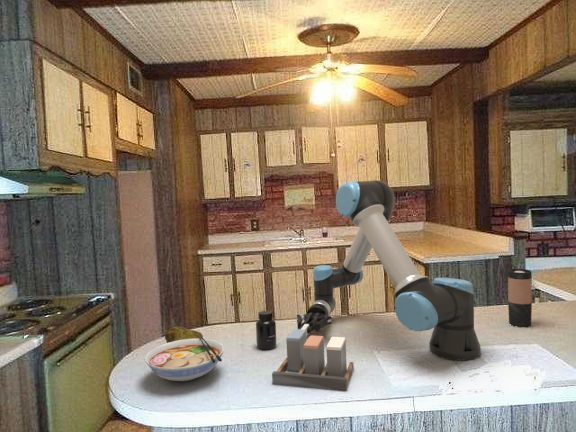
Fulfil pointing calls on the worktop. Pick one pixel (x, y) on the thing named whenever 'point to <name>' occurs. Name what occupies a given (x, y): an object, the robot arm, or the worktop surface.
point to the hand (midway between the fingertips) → (302, 334)
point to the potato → (181, 334)
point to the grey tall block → (336, 357)
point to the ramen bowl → (184, 358)
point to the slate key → (296, 349)
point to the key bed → (311, 378)
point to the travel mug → (519, 297)
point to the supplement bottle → (266, 331)
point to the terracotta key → (314, 355)
